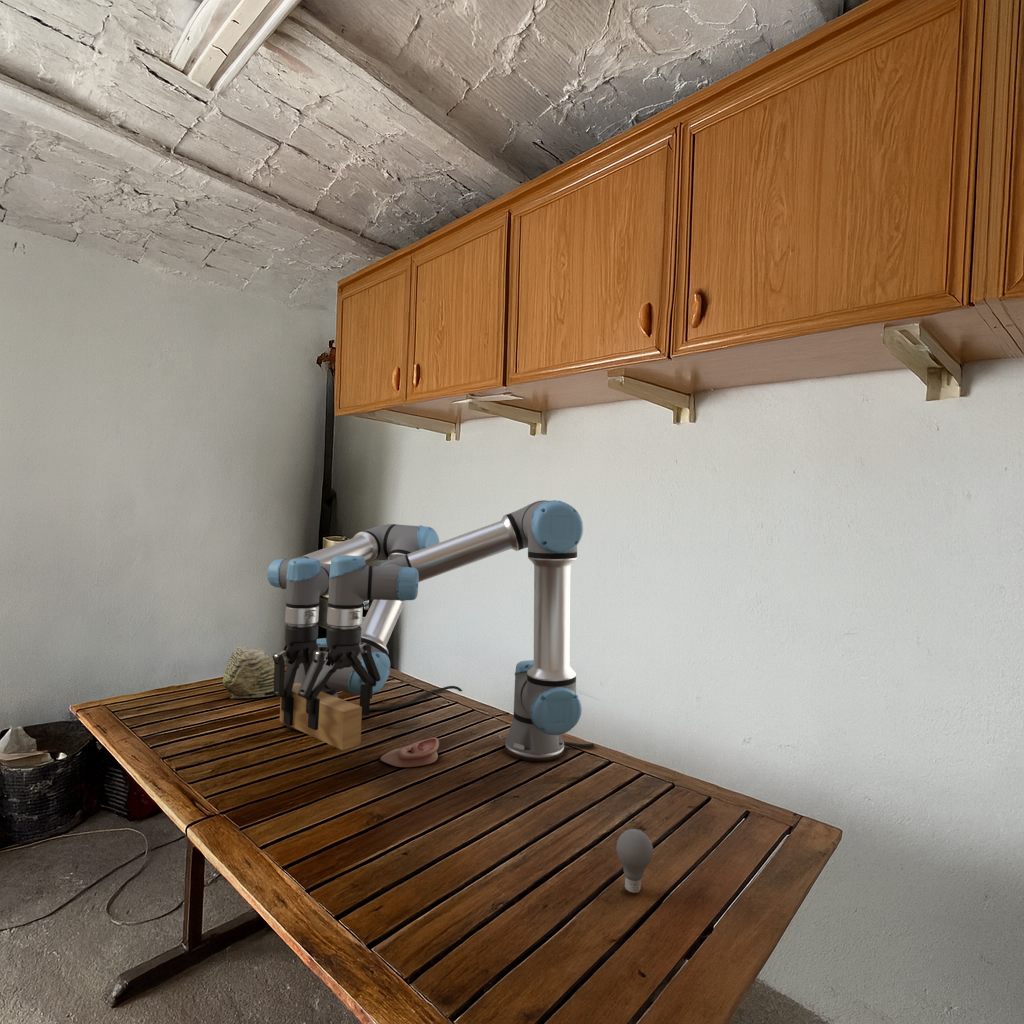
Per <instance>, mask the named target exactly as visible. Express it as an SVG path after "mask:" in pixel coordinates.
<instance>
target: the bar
mask: <svg viewBox="0 0 1024 1024" xmlns="http://www.w3.org/2000/svg"><path fill="white" fill-rule="evenodd" d="M301 685H302V684H300V683H295V684H293V688H292V692H291V697H294V701H293V725H291V727H293V728H295V729H297V730H299V731H298V732H301V731H302V732H301V733H305V734H306V735H308V736H310V737H312V738H315V739H317V740H319V741H321V742H323V743H326V744H327V745H330V746H331V747H335V748H336V749H338V750H341V751H345V750H348V749H352V748H354V747H357V746H360V745H361V742H362V741H361V740H362V720H363V719H362V716H363V714H362V707H361V706H360V705H358V704H356V703H353V702H350V701H347V700H345V699H342V698H340V697H338V698H337V697H334V696H332V695H329V694H326V693H324V692H320V693H319V695H318V696H317V698H318V699H320V703H319V723H318V730H313V729H311V728H309V727H308V714H307V713H306V699H305V698H303V697H301V696H299V695H298V692H299V689H300V687H301ZM279 698H280V701H279V722H280V723H282V724H284V725H285V726H286V725H287V724H285V723H283V720H284V711H282V709H281V697H279Z"/></svg>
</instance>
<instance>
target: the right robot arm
mask: <svg viewBox="0 0 1024 1024" xmlns="http://www.w3.org/2000/svg"><path fill="white" fill-rule="evenodd" d="M583 535H584V523H583V519H582V517H581V515H580V513H579V512H578V510H577V509H576V508H575V507H573V506H572V505H571V504H569V503H568V502H565V501H562V500H555V499H553V500H547V499H546V500H543V499H542V500H537V501H534V502H532V503H529V504H527V505H525V506H523V507H522V508H520V509H517V510H515V511H512V512H510V513H507V514H505V515H504V514H503V516H502V518H501V520H499V521H496V522H493V523H491V524H488V525H486V526H483V527H480V528H476V529H473V530H472V531H468V532H466V533H463V534H459V535H458V536H455V537H451V538H449V539H446V540H443V541H439V542H440V543H437V544H435V545H432V546H429V547H426V548H423V549H421V550H418V551H415V552H412V553H409V554H407V555H405V556H401V557H398V558H396V559H388V560H386V561H385V560H383V561H382V562H381V563H379V565H368V564H367V563H366V562H365V558H364V557H361V556H350V555H342V556H336V557H334V558H333V559H332V560H331V566H330V575H329V595H327V596H328V597H327V601H328V602H327V614H326V624H327V625H328V626H327V627H326V633H325V634H326V635H325V636H326V637H325V638H326V642H327V650H326V651H323V652H320V651H317V650H316V651H314V653H313V660H312V663H311V665H310V667H309V669H308V672H307V674H306V676H305V678H304V681H303V683H302V685H301V687H300V689H299V692H298V695H299V696H301V697H303V698H305V699H306V713H307V714H308V727H309V728H311V729H313V730H318V723H319V703H320V699H318V698H317V696H318V695H319V693H320V692H321V690H322V689H323V687H324V686H325V684H326V683H327V681H328V680H329V678H330V677H331V675H332V674H333V673H335V672H336V670H337V669H343V668H345V667H347V668H348V667H351V666H352V668H353V669H354V670H355V672H356V673H357V674H358V676H359V677H360V678H361V680H362V681H363V682H364V683H365V685H364V684H362V685H361V688H360V695H359V706H361V707H362V715H364V716H367V717H368V716H370V711H369V710H370V708H371V700H372V698H373V695H372V692H373V687H374V686H376V684H377V683H376V682H377V681H378V682H379V681H380V679H381V677H380V675H379V672H378V669H377V667H376V664H375V661H374V659H373V656H372V653H371V645H370V644H367V643H364V642H362V643H361V644H360V645H359V643H360V642H361V632H362V628H361V625H362V623H363V610H364V600H368V601H369V600H400V601H404V600H406V601H414V600H416V599H417V598H418V594H419V583H420V582H423V581H426V580H429V579H432V578H434V577H437V576H440V575H443V574H446V573H449V572H451V571H454V570H457V569H459V568H462V567H465V566H467V565H471V564H473V563H476V562H479V561H481V560H485V559H487V558H490V557H492V556H493V557H494V556H496V555H499V554H501V553H504V552H506V551H510V550H513V551H515V552H518V551H521V550H524V549H527V559H528V560H529V561H530V562H531V563H532V564H533V659H530V660H521V661H519V662H518V663H516V664H515V671H514V691H513V692H514V693H513V695H514V696H513V718H512V721H511V724H510V727H509V729H508V731H507V732H508V733H507V735H506V737H505V741H504V742H505V743H504V750H505V752H506V753H507V754H508V755H509V756H511V757H513V758H516V759H518V760H521V761H527V762H535V763H536V762H540V763H541V762H550V761H554V760H558V759H559V758H561V757H563V755H564V753H565V746H566V747H567V746H568V747H575V748H586V749H587V748H595V743H578V742H570V741H564V738H563V735H564V734H566V733H568V732H570V731H571V730H572V729H574V727H576V726H577V724H578V723H579V721H580V718H581V716H582V711H583V708H582V707H583V706H582V702H581V699H580V696H579V695H578V694H577V672H576V671H575V670H574V668H573V667H572V666H571V571H572V570H571V567H572V564H573V563H574V562H576V560H577V559H578V545H579V543H580V542H581V540H582V538H583ZM359 653H361V656H362V658H363V661H364V664H365V666H366V669H367V671H368V672H367V671H366V670H365V668H364V667H363V666H362V663H361V661H360V660H359V659H358V657H357V656H358V655H359ZM325 658H327V660H326V659H325ZM324 661H326V662H325V663H324ZM323 663H324V665H323ZM330 665H331V666H332V667H331V666H330ZM322 666H323V669H322ZM321 669H322V670H321ZM320 671H321V672H320Z"/></svg>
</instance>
